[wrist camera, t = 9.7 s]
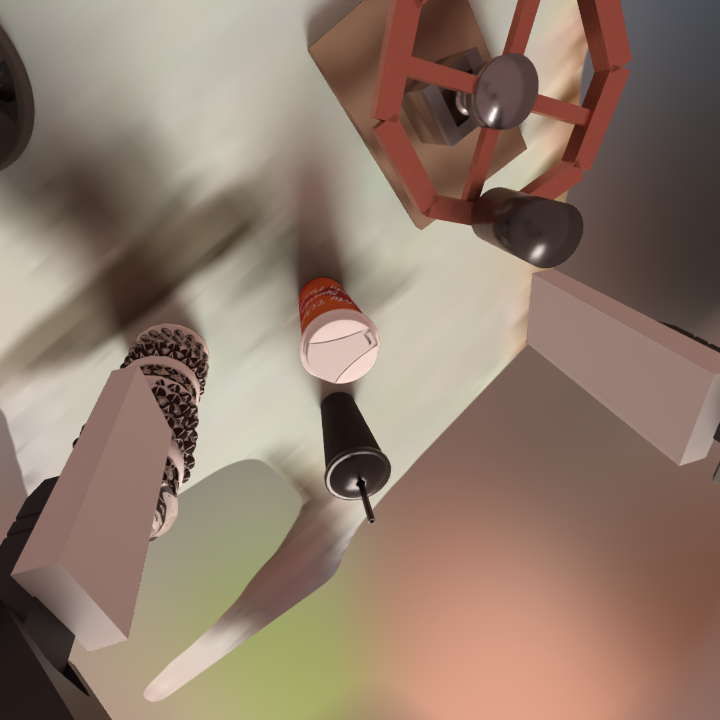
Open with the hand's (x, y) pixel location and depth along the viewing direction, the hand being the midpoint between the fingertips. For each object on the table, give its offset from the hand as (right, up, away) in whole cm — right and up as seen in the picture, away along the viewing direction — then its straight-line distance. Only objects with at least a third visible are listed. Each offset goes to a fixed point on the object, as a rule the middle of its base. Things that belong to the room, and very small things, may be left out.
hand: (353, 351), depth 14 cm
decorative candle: (-22, 0, +36) cm, 42 cm away
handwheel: (+9, +21, +21) cm, 31 cm away
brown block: (+7, +26, +29) cm, 39 cm away
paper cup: (-5, +7, +37) cm, 38 cm away
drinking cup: (-3, -7, +45) cm, 46 cm away
